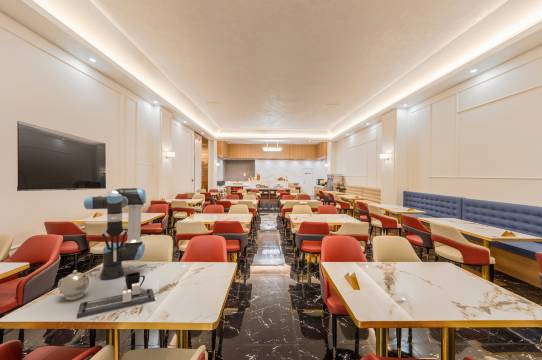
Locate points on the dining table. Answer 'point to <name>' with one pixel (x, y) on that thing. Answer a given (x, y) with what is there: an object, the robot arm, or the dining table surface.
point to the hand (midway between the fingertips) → (114, 260)
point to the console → (114, 303)
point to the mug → (133, 279)
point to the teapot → (73, 285)
